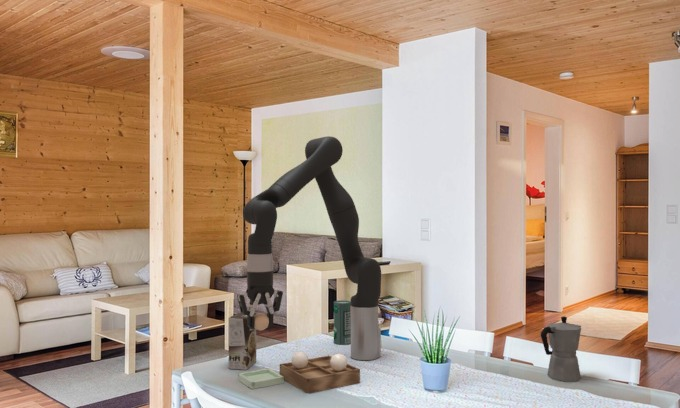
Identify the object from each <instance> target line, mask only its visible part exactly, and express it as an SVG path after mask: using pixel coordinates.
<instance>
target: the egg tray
mask: <svg viewBox="0 0 680 408" xmlns="http://www.w3.org/2000/svg"><path fill="white" fill-rule="evenodd" d="M331 358H332V356H331V355H325V356H319V357H314V358H308V364H307V365H306V367H304V368H302V369H297V368H295V367H294V366H293V364H292V361H290V362H284V363H280V364H279V374H280V375H282V376H283V377H284V382H285V381H286V382H287V383H289V384H291V385H293V386H294V387H296V388H297V389H299V390H301V391H303V392H304V393H306V394H311V393H316V392H321V391H326V390H330V389H335V388H341V387H345V386H350V385H354V384H355V383H356V384H360V383H361V369H360V368H358V367H356V366H353V365H351V364H349V363H347V366H346V368H345V369H344V370H342V371H335V370H333V369H332V367H331V365H330V360H331ZM356 384H355V385H356Z"/></svg>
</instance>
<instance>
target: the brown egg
mask: <svg viewBox="0 0 680 408" xmlns="http://www.w3.org/2000/svg"><path fill="white" fill-rule="evenodd" d="M268 325H269V318H268V316H267V315H266V313H263V312H258V313H256V315H254V328H255V329H256V331H264V330H265V329H267V328H269V327H268Z"/></svg>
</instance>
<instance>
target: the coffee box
mask: <svg viewBox="0 0 680 408" xmlns="http://www.w3.org/2000/svg"><path fill="white" fill-rule="evenodd" d="M256 314H257V313H256V312H254V315H256ZM254 315H253V316H254ZM227 339H228V369H230V370H231V369H232V370H242V371H246V370H248V369H250V368H251V367H252V366H253V365H255V364H256V363H257V329H255V328H254V329H250V328H249V327H248V325H247V315H244V314H242V313H241V312H238V313H236V314H233V315H232V316H229V317H228V338H227Z"/></svg>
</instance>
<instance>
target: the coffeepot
mask: <svg viewBox="0 0 680 408" xmlns="http://www.w3.org/2000/svg"><path fill="white" fill-rule="evenodd" d="M560 318H561V322H555V323H550V324H548V325H546V326H545V327H543V328H542V331H541V332H540V337H541V341H542V345H543V348H544V352H545V354H546V355H547V356H550V357H549V358H550V359H549V364H548V369H547V373H546V374H547V377H548V378H550V379H552V380H554V381H558V382H559V381H560V382H566V383H567V382H568V383H572V382H578V381H580V379H581V378H582V376H581V371H580V365H579V359H578V356H577V351H578V350H579V344H580V338H581V332H582V325H579V324H574V323H570V322H567V320H568V317H567V316H564V315H563V316H561V317H560ZM547 335H548V336H547ZM548 340H549V343H548ZM550 349H551V350H552V351H551V350H550Z"/></svg>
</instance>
